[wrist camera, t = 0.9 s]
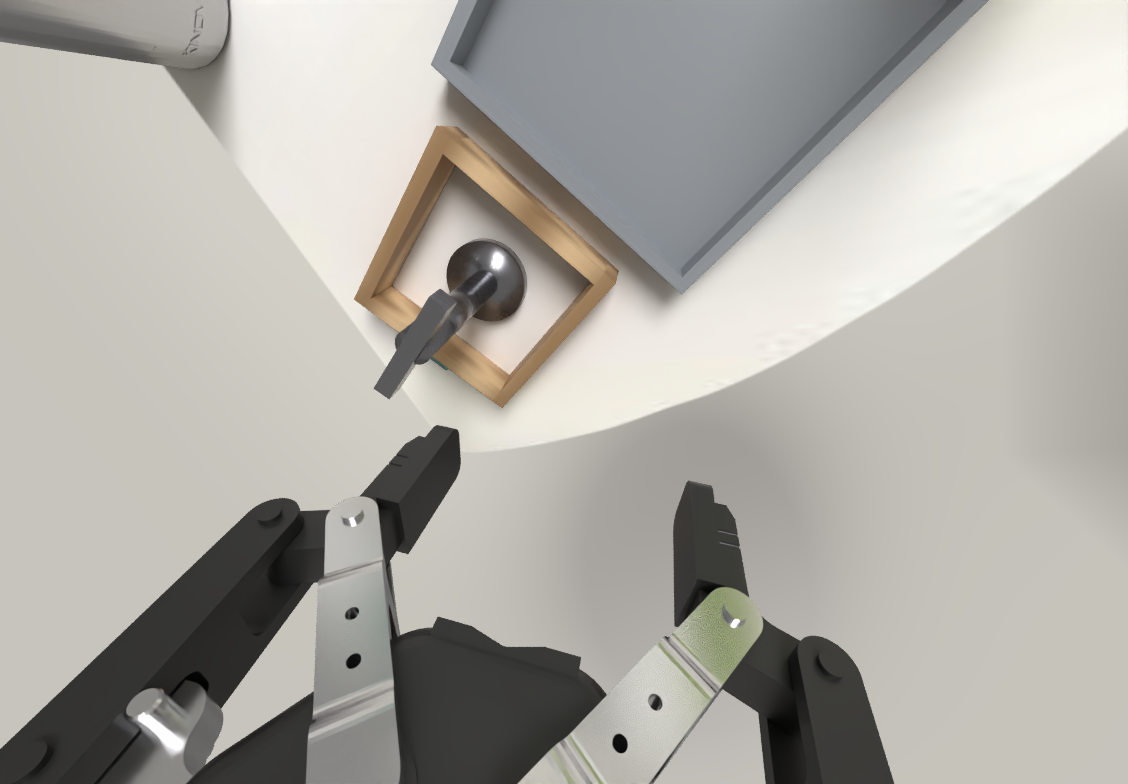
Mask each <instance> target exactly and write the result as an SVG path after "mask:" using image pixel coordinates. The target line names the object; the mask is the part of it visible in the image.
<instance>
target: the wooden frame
mask: <svg viewBox="0 0 1128 784" xmlns="http://www.w3.org/2000/svg"><path fill="white" fill-rule="evenodd" d="M455 165H456V166H457V167H459V168H460V169H461V170H462V171H463V172H464V173H465V174H467V175H468V176H469V177H470V178H471V179H472V180H474V181H475V182H476V183H477V184H478V185H479V186H481V187H482V188H483V189H484V190H485V191H486V192H487V193H489V194H490V195H491V196H492V197H493V198H494V199H496V200H497V201H498V202H499V203H500V204H501V205H502V206H504V207H505V208H506V209H507V210H508V211H509V212H511V213H512V214H513V215H514V216H515V217H516V218H517V219H519V220H520V221H521V222H522V223H523V224H524V225H526V226H527V227H528V228H529V229H530V230H531V231H532V232H534V233H535V234H536V235H537V236H538V237H539V238H541V239H542V240H543V241H544V242H545V243H546V244H547V245H549V246H550V247H551V248H552V249H553V250H554V251H556V252H557V253H558V254H559V255H560V256H561V257H563V258H564V259H565V260H566V261H567V262H568V263H569V264H571V265H572V266H573V267H574V268H575V269H576V270H578V271H579V272H580V273H581V274H582V275H583V276H584V277H586V278H587V279H588V280H589V281H590V283H589V284H588V285H587V287H586V288H585V289H584V290H583V291H582V292H581V294H580V295H579V296H578V297H577V298H576V299H575V300H574V302H573V303H572V304H571V305H570V306H569V307H568V309H567V310H566V311H565V312H564V313H563V314H562V315H561V317H560V318H559V319H558V320H557V321H556V322H555V324H554V325H553V326H552V327H551V328H550V329H549V330H548V332H547V333H546V334H545V335H544V336H543V337H542V339H541V340H540V341H539V342H538V343H537V344H536V345H535V347H534V348H533V349H532V350H531V351H530V352H529V354H528V355H527V356H526V357H525V358H524V359H523V360H522V362H521V363H520V364H519V365H518V366H517V367H516V369H515V370H514V371H513V372H512V373H511V374H510V375H508V374H507V373H506V372H504V371H503V370H502V369H500V368H499V367H498V366H496V365H495V364H494V363H492V362H491V361H490V360H488V359H487V358H486V357H485V356H483V355H482V354H481V353H479V352H478V351H477V350H475V349H474V348H473V347H471V346H470V345H469V344H467V343H466V342H465V341H463V340H462V339H461V338H459V337H458V336H457V335H455V334H454V335H453V336H452V337H451V338H450V339H449V340H448V341H447V342H446V343H445V344H444V345H443V346H442V347H441V348H440V349H439V350H438V351H437V352H436V353H435V354H434V355H433V356H432V357H431V358H430V359H431V360H433V361H434V362H436V363H437V364H438V365H440V366H441V367H442V368H444V369H445V370H447V369H450V370H451V371H452V372H454V373H455V374H457V375H458V376H459V377H461V378H462V379H463V380H465V381H466V382H467V383H469V384H470V385H472V386H473V387H474V388H476V389H477V390H478V391H480V392H481V393H482V394H484V395H485V396H487V397H488V398H489V399H491V400H492V401H493V402H495V403H496V404H497V405H499V406H500V407H502V408H503V407H504V405H505V404H506V403H507V402H508V401H509V400H510V399H511V398H512V397H513V396H514V394H515V393H516V392H517V391H518V390H519V389H520V388H521V387H522V386H523V385H524V384H525V382H526V381H527V380H528V379H529V378H530V377H531V376H532V375H533V374H534V373H535V371H536V370H537V369H538V368H539V367H540V366H541V365H542V364H543V363H544V362H545V360H546V359H547V358H548V357H549V356H550V355H551V354H552V353H553V352H554V351H555V350H556V348H557V347H558V346H559V345H560V344H561V343H562V342H563V341H564V340H565V339H566V337H567V336H568V335H569V334H570V333H571V332H572V331H573V330H574V329H575V328H576V326H577V325H578V324H579V323H580V322H581V321H582V320H583V319H584V318H585V317H586V316H587V314H588V313H589V312H590V311H591V310H592V309H593V308H594V307H595V306H596V305H597V303H598V302H599V301H600V300H601V299H602V298H603V297H604V296H605V295H606V294H607V293H608V291H609V290H610V289H611V288H612V287H613V286H614V285H615V284H616V280H617V276H618V270H617V269H616V268H615V267H614V266H613V265H611V264H610V263H609V262H608V261H607V260H606V259H605V258H604V257H602V256H601V255H600V254H599V253H598V252H597V251H596V250H595V249H594V248H592V247H591V246H590V245H589V244H588V243H587V242H586V241H585V240H583V239H582V238H581V237H580V236H579V235H578V234H577V233H576V232H574V231H573V230H572V229H571V228H570V227H569V226H568V225H567V224H565V223H564V222H563V221H562V220H561V219H560V218H559V217H558V216H556V215H555V214H554V213H553V212H552V211H551V210H550V209H549V208H548V207H546V206H545V205H544V204H543V203H542V202H541V201H540V200H539V199H537V198H536V197H535V196H534V195H533V194H532V193H531V192H530V191H528V190H527V189H526V188H525V187H524V186H523V185H522V184H521V183H519V182H518V181H517V180H516V179H515V178H514V177H513V176H512V175H510V174H509V173H508V172H507V171H506V170H505V169H504V168H503V167H501V166H500V165H499V164H498V163H497V162H496V161H495V160H494V159H493V158H491V157H490V156H489V155H488V154H487V153H486V152H485V151H484V150H482V149H481V148H480V147H479V146H478V145H477V144H476V143H475V142H473V141H472V140H471V139H470V138H469V137H468V136H467V135H466V134H464V133H463V132H462V131H461V130H460V129H459V128H458V127H450V126H436V128H435V130H434V132H433V134H432V136H431V138H430V140H429V143H428V145H427V147H426V149H425V151H424V153H423V155H422V157H421V159H420V161H419V164H418V166H417V168H416V170H415V172H414V174H413V176H412V178H411V180H410V182H409V185H408V187H407V189H406V191H405V193H404V195H403V197H402V199H401V201H400V203H399V206H398V208H397V210H396V212H395V214H394V216H393V218H392V220H391V222H390V224H389V227H388V229H387V231H386V233H385V235H384V237H383V239H382V241H381V243H380V245H379V248H378V250H377V252H376V254H375V256H374V258H373V260H372V262H371V264H370V266H369V269H368V271H367V273H366V275H365V277H364V279H363V281H362V283H361V285H360V288H359V290H358V292H357V294H356V296H355V298H354V300H355V301H357V302H358V303H360V304H361V305H362V306H364V307H365V308H366V309H368V310H369V311H371V312H372V313H373V314H375V315H376V316H377V317H379V318H380V319H381V320H383V321H384V322H386V323H387V324H388V325H390V326H391V327H392V328H394V329H395V330H396V331H398V332H401V331H402V330H403V329H405V328H406V327H407V326H408V325H410V324H411V323H412V322H413V321H415V319H416V318H417V316H418V314H419V313H420V311H421V310H422V309H421V308H420V307H419V306H417V305H416V304H415V303H413V302H412V301H411V300H409V299H408V298H407V297H405V296H404V295H403V294H401V293H400V292H399V291H397V290H396V289H395V288H393V287H392V284H393V282H394V280H395V278H396V276H397V274H398V273H399V271H400V269H401V267H402V265H403V263H404V261H405V259H406V257H407V256H408V254H409V252H410V250H411V248H412V246H413V244H414V242H415V240H416V239H417V237H418V235H419V233H420V231H421V229H422V227H423V225H424V223H425V222H426V220H427V218H428V216H429V214H430V212H431V210H432V208H433V206H434V205H435V203H436V201H437V199H438V197H439V195H440V193H441V191H442V189H443V188H444V186H445V184H446V182H447V180H448V178H449V176H450V174H451V172H452V171H453V169H454V167H455Z"/></svg>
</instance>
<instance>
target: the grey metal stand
mask: <svg viewBox="0 0 1128 784" xmlns="http://www.w3.org/2000/svg"><path fill="white" fill-rule="evenodd" d="M447 283H448V287H449V290H450V293H449V294H447V293H445V292H444V291H443V290H441V289H439V290H438V291H436V292H435V293H434V294H432V295H431V296H430V297H429V298H428V300H427V301H426V303H425V305H424V306H423V308H422V310H421V311H420V313H419V314H418V316H417V318H416V319H415V321H413V322H412V323H411V324H410V325H408V326H407V327H406V328H405V329H403V330H402V331H401V332H399V333H398V334H397V336H396V339H395V346H396V349H397V351H396V352H395V354H394V356H393V357H392V359H391V361H390V362H389V364H388V366H387V367H386V369H385V371H384V372H383V374H382V376H381V377H380V379H379V381H378V382H377V384H376V385H375V387H374V389H375V390H377V391H378V392H380V393H381V394H382V395H384V396H385V397H387V398H388V399H390V398H391V397H392V396H393V395H394V394H395V393H396V392H397V391H398V390H399V389H400V388H401V386H402V385H403V383H404V382H405V380H406V379H407V377H408V376H409V374H410V373H411V371H412V370H413V368H414V367H415V365H416V364H418V365H419V364H424V363H426V362H427V361H428V360H429V359H430V358H431V357H432V356H433V355H434V354H435V353H436V352H437V351H438V350H439V349H440V348H441V347H442V346H443V345H444V344H445V343H446V342H447V341H448V340H449V339H450V338H451V337H452V336H453V335H454V334H455V333H456V332H457V331H458V330H459V329H460V328H461V327H462V326H463V325H464V324H465V323H466V322H467V321H468V320H469V319H470V318H471V317H472V316H473V317H475V318H478V319H481V320H485V321H498V320H502V319H504V318H507V317H508V316H510V315H511V314H512V313H514V312H515V310H516V309H517V308H518V307H519V306H520V304H521V303H522V301H523V299H524V297H525V294H526V290H527V277H526V272H525V269H524V267H523V265H522V263H521V261H520V259H519V258H518V256H517V255H516V254H515V253H514V252H513V251H512V250H511V249H510V248H508V247H507V246H506V245H504V244H502V243H500V242H498V241H495V240H491V239H476V240H473V241H470V242H468V243H466V244H465V245H463V246H461V247H460V248H459V249H457V250H456V251H455V252H454V254H453V255H452V257H451V258H450V260H449V263H448V267H447Z"/></svg>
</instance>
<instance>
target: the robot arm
mask: <svg viewBox="0 0 1128 784" xmlns="http://www.w3.org/2000/svg"><path fill="white" fill-rule="evenodd" d="M228 15H229V13H228V3H227V0H0V42H5V43H12V44H19V45H27V46H33V47H40V48H48V49H55V50H61V51H68V52H75V53H83V54H89V55H96V56H103V57H110V58H117V59H123V60H129V61H136V62H144V63H151V64H158V65H165V66H172V67H179V68H193V69H196V68H199V67H203V66H206V65H208V64H209V63H210V62H211V61H213V60H214V59H215V58H216V57H217V56H218V54H219V52H220V51H221V49H222V48H223V45H224V42H225V38H226V35H227V29H228ZM460 464H461V458H460V442H459V432H458V430H457V429H453V428H448V427H443V426H439V425H436V426H435V427H434V428H433V429H432V430H431V431H430V432H429V433H428V435H427V436H426V437H421V436H418V437H416V438H415V439H413V440H411V441H410V442H408V443H406V444H405V445H404V446H403V447H402V449H401V450H400V451H399V452H398V453H397V455H396V456H395V457H394V458H393V459H392V460H391V461H390V462H389V465H387V466H386V467H385V468H384V469H383V470H382V471H381V473H380V474H379V475H378V476H377V477H376V478H375V479H374V481H373V482H372V483H371V484H370V485H369V486H368V488H367V489H366V490H365V491H364V492H363V493H362V494H361V495H360V496H359V497H352V498H349V499H346V500H343V501H341V502H339V503H338V504H337V505H335V506H334V507H333V508H332V509H331V510H319V511H300V508H299V506H298V504H297V503H296V502H295V501H293V500H291V499H287V498H279V499H273V500H269V501H266V502H264V503H261V504H260V505H258V506H256V507H255V508H253V509H252V510H251V511H250V512H248V513H247V514H246V515H245V516H244V517H243V518H242V519H241V520H240V521H239V522H238V523H237V524H236V525H235V526H234V527H233V528H231V529H230V530H229V531H228V532H227V533H226V534H225V535H224V536H223V537H222V538H221V539H220V540H219V541H218V542H217V543H216V544H215V545H214V546H213V547H212V548H211V549H209V550H208V551H207V552H206V554H204V555H203V556H202V557H201V558H200V559H199V560H198V561H197V562H196V563H195V564H194V565H193V566H192V567H191V568H190V569H189V570H188V571H186V572H185V573H184V574H183V575H182V576H181V577H180V578H179V579H178V580H177V581H176V582H175V583H174V584H173V585H172V586H171V587H170V588H169V589H168V590H167V591H165V593H163V594H162V595H161V596H160V597H159V598H158V599H157V600H156V601H155V602H154V603H153V604H152V605H151V606H150V607H149V608H148V609H147V610H146V611H145V612H144V613H142V615H140V616H139V617H138V618H137V619H136V620H135V621H134V622H133V623H132V624H131V625H130V626H129V627H128V628H127V629H126V630H125V631H124V632H123V633H122V634H121V635H120V636H118V637H117V638H116V639H115V640H114V641H113V642H112V643H111V644H110V645H109V646H108V647H107V648H106V649H105V650H104V651H103V652H102V653H101V654H100V655H99V656H97V657H96V658H95V659H94V660H93V661H92V662H91V663H90V664H89V665H88V666H87V667H86V668H85V669H84V670H83V671H82V672H81V673H80V674H79V675H78V676H77V677H75V678H74V679H73V680H72V681H71V682H70V683H69V684H68V685H67V686H66V687H65V688H64V689H63V690H62V691H61V692H60V693H59V694H58V695H57V696H56V697H54V698H53V699H52V700H51V701H50V702H49V703H48V704H47V705H46V706H45V707H44V708H43V709H42V710H41V711H40V712H39V713H38V714H37V715H36V716H35V717H34V718H32V720H30V721H29V722H28V723H27V725H25V726H24V727H23V728H22V729H21V730H20V731H19V732H18V733H17V734H16V735H15V736H14V737H13V738H12V739H11V740H9V741H8V742H7V743H6V744H5V745H4V746H3V747H2V748H1V749H0V784H653V783H654V782H655V781H656V779H657V778H658V777H659V775H660V774H661V772H662V771H663V770H664V768H665V767H666V766H667V764H668V763H669V762H670V760H671V758H672V757H673V756H674V755H675V753H676V752H677V751H678V749H679V748H680V746H681V745H682V744H683V742H684V741H685V739H686V738H687V737H688V735H689V734H690V732H691V731H692V730H693V728H694V727H695V726H696V724H697V723H698V722H699V720H700V719H701V718H702V716H703V715H704V714H705V712H706V711H707V710H708V708H709V707H710V705H711V704H712V703H713V701H714V700H715V699H716V697H717V696H718V695H719V693H720V692H721V691H722V689H724V690H725V691H726V692H728V693H730V694H731V695H732V696H734V697H736V698H737V699H739V700H740V701H742V702H743V703H745V704H746V705H748V706H749V707H751V708H752V709H754V710H755V711H757V712H758V714H759V723H760V733H761V743H762V752H763V762H764V770H765V781H766V784H894V782H893V778H892V775H891V772H890V768H889V766H888V762H887V759H886V755H885V752H884V749H883V746H882V742H881V739H880V736H879V732H878V729H877V726H876V723H875V720H874V716H873V713H872V710H871V707H870V703H869V700H868V697H867V693H866V690H865V687H864V684H863V680H862V677H861V674H860V672H859V670H858V668H857V666H856V665H855V663H854V662H853V660H852V659H851V658H850V656H849V655H848V654H847V653H846V652H845V651H844V650H843V649H841V648H840V647H839V646H838V645H836V644H835V643H833V642H831V641H830V640H828V639H825V638H823V637H819V636H808V637H805V638H803V639H802V640H801V641H799V640H798V639H796V638H794V637H792V636H790V635H789V634H787V633H785V632H783V631H782V630H780V629H778V628H776V627H775V626H773V625H771V624H770V623H769V622H767V621H766V620H765V619H764V618H763V617H762V616H761V613H760V611H759V609H758V608H757V606H756V605H755V603H754V602H753V601H752V600H751V599H750V598H749V594H748V590H747V584H746V579H745V573H744V567H743V562H742V556H741V551H740V549H739V546H740V545H739V539H738V537H737V528H736V523H735V519H734V517H733V516H732V514H731V512H730V511H729V509H728V508H727V506H726V505H722V504H718V503H714V495H713V488H712V486H711V485H706V484H702V483H697V482H692V481H688V482H687V483H686V486H685V489H684V491H683V494H682V497H681V500H680V503H679V506H678V509H677V511H676V515H675V519H674V530H673V538H674V539H673V544H674V614H675V615H674V618H675V619H674V621H675V626H676V627H678V628H677V629H676V630H675V631H674V632H673V633H672V634H671V635H670V636H669V637H666V636H665V637H663V638H662V639H661V640H660V641H659V642H658V643H657V644H656V645H655V646H654V647H653V648H652V649H651V650H650V651H649V652H648V653H647V654H646V655H645V656H644V657H643V658H642V659H641V660H640V661H639V662H638V663H637V665H635V667H634V668H633V669H632V670H631V671H630V672H629V673H628V674H627V675H626V676H625V677H624V678H623V679H622V680H621V681H620V682H619V683H618V684H617V685H616V686H615V687H614V689H612V691H611V692H610V693H609V694H608V695H606V693H605V692H604V691H603V689H602V688H601V687H600V686H599V685H598V684H597V683H596V681H595V680H594V679H592V678H591V677H590V676H589V675H587V674H586V673H585V672H583V671H582V670H580V669H579V666H580V661H581V657H578V656H575V655H571V654H568V653H564V652H560V651H557V650H553V649H550V648H546V647H505V646H502V645H500V644H499V643H497V642H496V641H494V640H492V639H491V638H489V637H488V636H486V635H485V634H483V633H482V632H480V631H478V630H477V629H475V628H474V627H472V626H469V625H465V624H462V623H459V622H455V621H452V620H448V619H445V618H441V617H437V620H436V622H435V624H434V626H433V628H423V629H418V630H414V631H411V632H407V633H405V634H402V635H400V631H399V625H398V619H397V612H396V603H395V595H394V587H393V578H392V570H391V563H390V560H391V558H392V557H393V556H394V554H395V552H396V551H399V552H402V553H406V554H409V552H410V551H411V549H412V547H413V546H414V544H415V543H416V541H417V540H418V538H419V536H420V534H421V533H422V532H423V530H424V529H425V527H426V525H427V524H428V522H429V521H430V519H431V517H432V516H433V514H434V513H435V511H436V509H437V508H438V506H439V505H440V503H441V502H442V500H443V498H444V497H445V495H446V494H447V492H448V490H449V489H450V487H451V486H452V484H453V483H454V481H455V479H456V478H457V475H458V473H459V470H460ZM315 582H318V598H317V623H316V651H315V677H314V691H313V692H312V693H311V694H309V695H308V696H306V697H304V698H303V699H302V700H300V701H299V702H297V703H295V704H294V705H292V706H291V707H290V708H288V709H286V710H285V711H284V712H282V713H281V714H279V715H278V716H276V717H275V718H273V719H272V720H270V721H268V722H267V723H265V724H264V725H262V726H261V727H260V728H258V729H257V730H255V731H253V732H252V733H250V734H249V735H248V736H246V737H245V738H243V739H241V740H240V741H239V742H237V743H235V744H234V745H232V746H231V747H229V748H228V749H226V750H225V751H224V752H222V753H221V754H219V755H218V756H216V757H215V758H214V759H212V760H211V761H210V762H208V763H207V764H206V765H205V763H206V759H207V758H208V757H209V755H210V754H211V752H212V750H213V747H214V743H215V741H216V740H217V738H218V736H219V734H220V732H221V729H222V725H223V713H222V710H221V708H222V707H223V705H224V704H225V703H226V701H227V700H228V698H229V697H230V696H231V694H232V693H233V692H234V690H235V689H236V688H237V686H238V685H239V683H240V682H241V681H242V679H243V678H244V677H245V675H246V674H247V673H248V671H249V670H250V668H251V667H252V666H253V664H254V663H255V662H256V660H257V659H258V658H259V656H260V655H261V654H262V652H263V651H264V649H265V648H266V647H267V645H268V644H269V643H270V641H271V640H272V639H273V637H274V636H275V634H276V633H277V632H278V630H279V629H280V628H281V626H282V625H283V624H284V622H285V621H286V619H287V618H288V617H289V615H290V614H291V613H292V611H293V610H294V609H295V607H296V606H297V604H298V603H299V601H300V600H301V599H302V598H303V596H304V595H305V593H306V592H307V591H308V590H309V588H310V587H311V585H312V584H313V583H315Z"/></svg>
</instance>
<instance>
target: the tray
mask: <svg viewBox="0 0 1128 784" xmlns="http://www.w3.org/2000/svg"><path fill="white" fill-rule="evenodd" d="M988 1H989V0H459V1H458V3H457V5H456V8H455V10H454V12H453V15H452V17H451V19H450V22H449V24H448V26H447V29H446V31H445V33H444V36H443V38H442V40H441V42H440V45H439V47H438V49H437V52H436V54H435V56H434V59H433V61H432V63H431V65H432V66H433V67H434V68H435V69H436V70H437V71H438V72H439V73H440V74H441V75H443V76H444V77H445V78H446V79H447V80H448V81H449V82H450V83H451V84H452V85H453V86H455V87H456V88H457V89H458V90H459V91H460V92H461V93H462V94H463V95H464V96H465V97H467V98H468V99H469V100H470V101H471V102H472V103H473V104H474V105H475V106H476V107H477V108H479V109H480V110H481V111H482V112H483V113H484V114H485V115H486V116H487V117H488V118H489V119H491V120H492V121H493V122H494V123H495V124H496V125H497V126H498V127H499V128H500V129H502V130H503V131H504V132H505V133H506V134H507V135H508V136H509V137H510V138H511V139H512V140H514V141H515V142H516V143H517V144H518V145H519V146H520V147H521V148H522V149H523V150H524V151H526V152H527V153H528V154H529V155H530V156H531V157H532V158H533V159H534V160H535V161H536V162H538V163H539V164H540V165H541V166H542V167H543V168H544V169H545V170H546V171H547V172H548V173H550V174H551V175H552V176H553V177H554V178H555V179H556V180H557V181H558V182H559V183H561V184H562V185H563V186H564V187H565V188H566V189H567V190H568V191H569V192H570V193H571V194H573V195H574V196H575V197H576V198H577V199H578V200H579V201H580V202H581V203H582V204H583V205H585V206H586V207H587V208H588V209H589V210H590V211H591V212H592V213H593V214H594V215H595V216H597V217H598V218H599V219H600V220H601V221H602V222H603V223H604V224H605V225H606V226H607V227H609V228H610V229H611V230H612V231H613V232H614V233H615V234H616V235H617V236H618V237H619V238H621V239H622V240H623V241H624V242H625V243H626V244H627V245H628V246H629V247H630V248H632V249H633V250H634V251H635V252H636V253H637V254H638V255H639V256H640V257H641V258H642V259H644V260H645V261H646V262H647V263H648V264H649V265H650V266H651V267H652V268H653V269H654V270H656V271H657V272H658V273H659V274H660V275H661V276H662V277H663V278H664V279H665V280H666V281H668V282H669V283H670V284H671V285H672V286H673V287H674V288H675V289H676V290H677V291H678V292H680V293H681V294H683V293H684V292H685V291H686V290H687V289H688V288H689V287H690V286H691V285H692V284H693V283H694V282H695V281H696V280H697V279H698V278H699V277H700V276H701V275H702V274H704V273H705V272H706V271H707V270H708V269H709V268H710V267H711V266H712V265H713V264H714V263H715V262H716V261H717V260H718V259H719V258H720V257H721V256H722V255H723V254H724V253H725V252H727V251H728V250H729V249H730V248H731V247H732V246H733V245H734V244H735V243H736V242H737V241H738V240H739V239H740V238H741V237H742V236H743V235H744V234H745V233H746V232H747V231H748V230H749V229H751V228H752V227H753V226H754V225H755V224H756V223H757V222H758V221H759V220H760V219H761V218H762V217H763V216H764V215H765V214H766V213H767V212H768V211H769V210H770V209H771V208H772V207H774V206H775V205H776V204H777V203H778V202H779V201H780V200H781V199H782V198H783V197H784V196H785V195H786V194H787V193H788V192H789V191H790V190H791V189H792V188H793V187H794V186H795V185H797V184H798V183H799V182H800V181H801V180H802V179H803V178H804V177H805V176H806V175H807V174H808V173H809V172H810V171H811V170H812V169H813V168H814V167H815V166H816V165H817V164H818V163H819V162H821V161H822V160H823V159H824V158H825V157H826V156H827V155H828V154H829V153H830V152H831V151H832V150H833V149H834V148H835V147H836V146H837V145H838V144H839V143H840V142H841V141H842V140H844V139H845V138H846V137H847V136H848V135H849V134H850V133H851V132H852V131H853V130H854V129H855V128H856V127H857V126H858V125H859V124H860V123H861V122H862V121H863V120H864V119H865V118H867V117H868V116H869V115H870V114H871V113H872V112H873V111H874V110H875V109H876V108H877V107H878V106H879V105H880V104H881V103H882V102H883V101H884V100H885V99H886V98H887V97H888V96H889V95H891V94H892V93H893V92H894V91H895V90H896V89H897V88H898V87H899V86H900V85H901V84H902V83H903V82H904V81H905V80H906V79H907V78H908V77H909V76H910V75H911V74H912V73H914V72H915V71H916V70H917V69H918V68H919V67H920V66H921V65H922V64H923V63H924V62H925V61H926V60H927V59H928V58H929V57H930V56H931V55H932V54H933V53H934V52H935V51H936V50H938V49H939V48H940V47H941V46H942V45H943V44H944V43H945V42H946V41H947V40H948V39H949V38H950V37H951V36H952V35H953V34H954V33H955V32H956V31H957V30H958V29H959V28H961V27H962V26H963V25H964V24H965V23H966V22H967V21H968V20H969V19H970V18H971V17H972V16H973V15H974V14H975V13H976V12H977V11H978V10H979V9H980V8H981V7H982V6H984V5H985V4H986V3H987V2H988Z"/></svg>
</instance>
